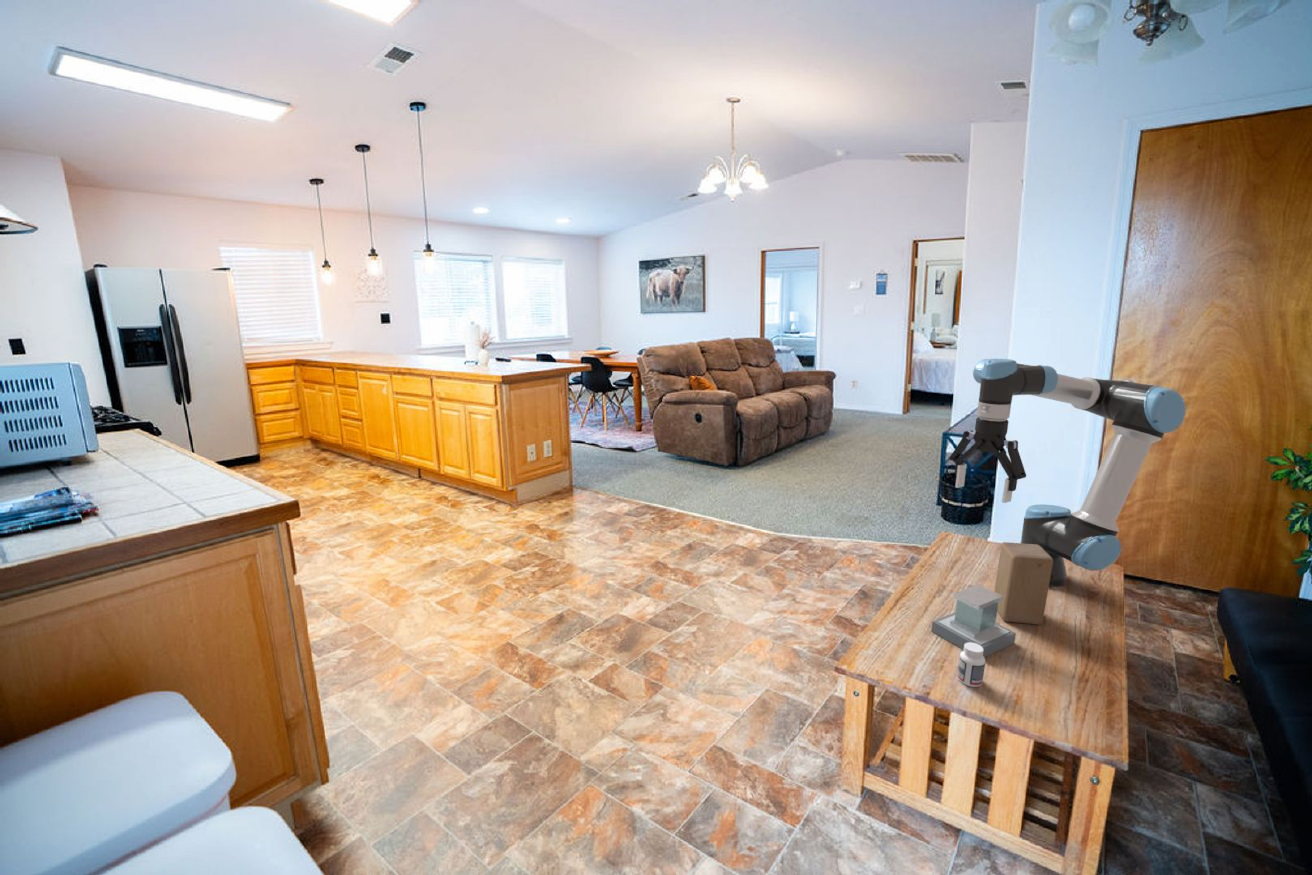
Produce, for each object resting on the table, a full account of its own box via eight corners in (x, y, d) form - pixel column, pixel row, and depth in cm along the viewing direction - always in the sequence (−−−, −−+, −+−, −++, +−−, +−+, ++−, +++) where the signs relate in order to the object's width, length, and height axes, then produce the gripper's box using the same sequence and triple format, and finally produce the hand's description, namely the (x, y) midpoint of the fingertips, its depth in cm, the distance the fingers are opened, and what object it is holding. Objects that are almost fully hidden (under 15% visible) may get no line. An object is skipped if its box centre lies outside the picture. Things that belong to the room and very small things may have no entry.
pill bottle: (985, 679, 140) (989, 646, 138) (978, 690, 136) (983, 656, 134) (960, 670, 143) (965, 637, 141) (954, 680, 139) (958, 647, 137)
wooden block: (1043, 626, 161) (1055, 558, 156) (1003, 622, 163) (1013, 555, 158) (1028, 607, 171) (1039, 543, 166) (991, 604, 173) (1000, 540, 168)
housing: (949, 624, 157) (953, 593, 154) (973, 615, 161) (977, 584, 159) (974, 638, 151) (979, 605, 148) (998, 627, 155) (1003, 595, 153)
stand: (964, 617, 166) (966, 607, 165) (1014, 643, 154) (1016, 632, 153) (931, 631, 159) (932, 620, 159) (980, 659, 147) (981, 647, 147)
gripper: (941, 411, 166) (933, 483, 171) (1031, 429, 144) (1019, 511, 150) (958, 408, 169) (950, 479, 174) (1049, 425, 148) (1036, 505, 153)
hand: (982, 494), depth 162 cm, fingers open, 13 cm apart
